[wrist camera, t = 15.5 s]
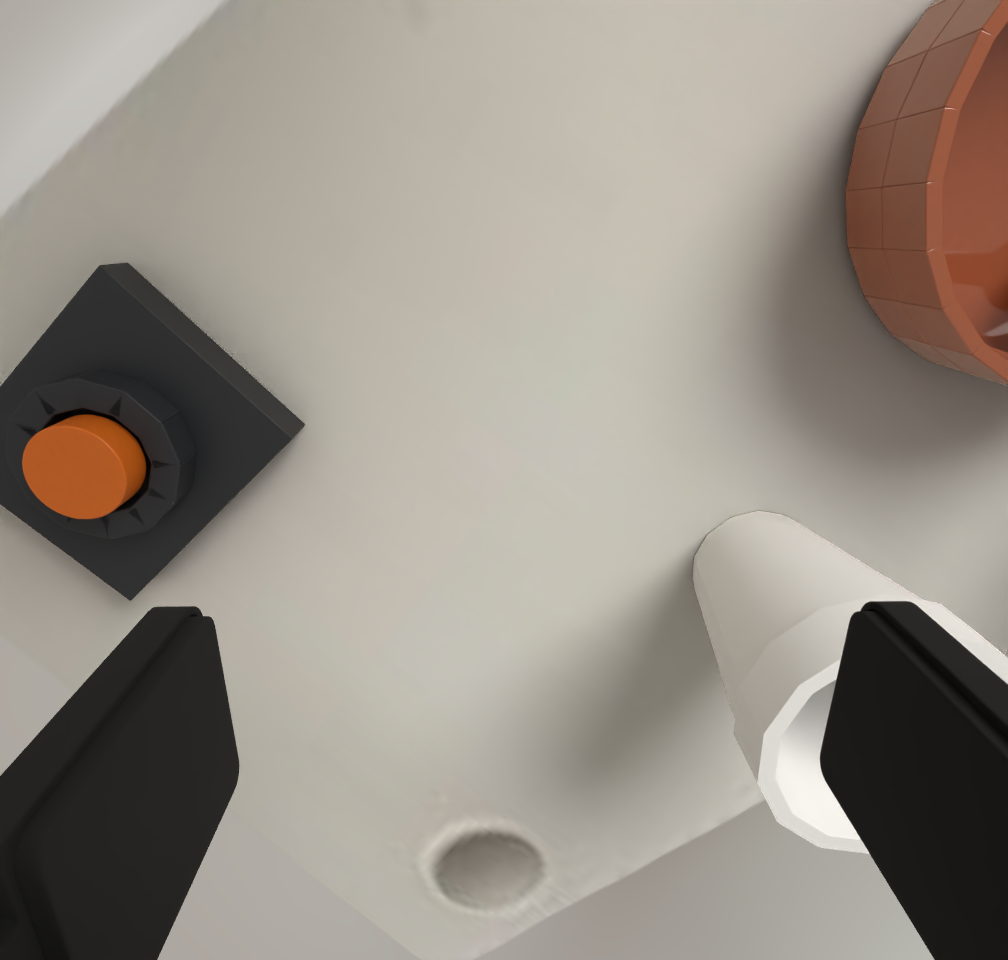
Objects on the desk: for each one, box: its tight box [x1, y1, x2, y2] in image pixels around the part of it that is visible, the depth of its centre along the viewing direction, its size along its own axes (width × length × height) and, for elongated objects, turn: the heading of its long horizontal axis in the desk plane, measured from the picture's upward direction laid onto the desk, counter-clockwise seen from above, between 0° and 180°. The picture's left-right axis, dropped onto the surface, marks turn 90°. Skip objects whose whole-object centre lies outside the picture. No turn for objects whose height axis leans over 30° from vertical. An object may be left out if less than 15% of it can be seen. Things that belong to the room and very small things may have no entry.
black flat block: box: [0, 263, 305, 600], centre depth 29 cm, size 10×12×4 cm
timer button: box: [22, 414, 146, 519], centre depth 27 cm, size 4×4×2 cm
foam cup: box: [692, 511, 1008, 854], centre depth 28 cm, size 10×9×13 cm
